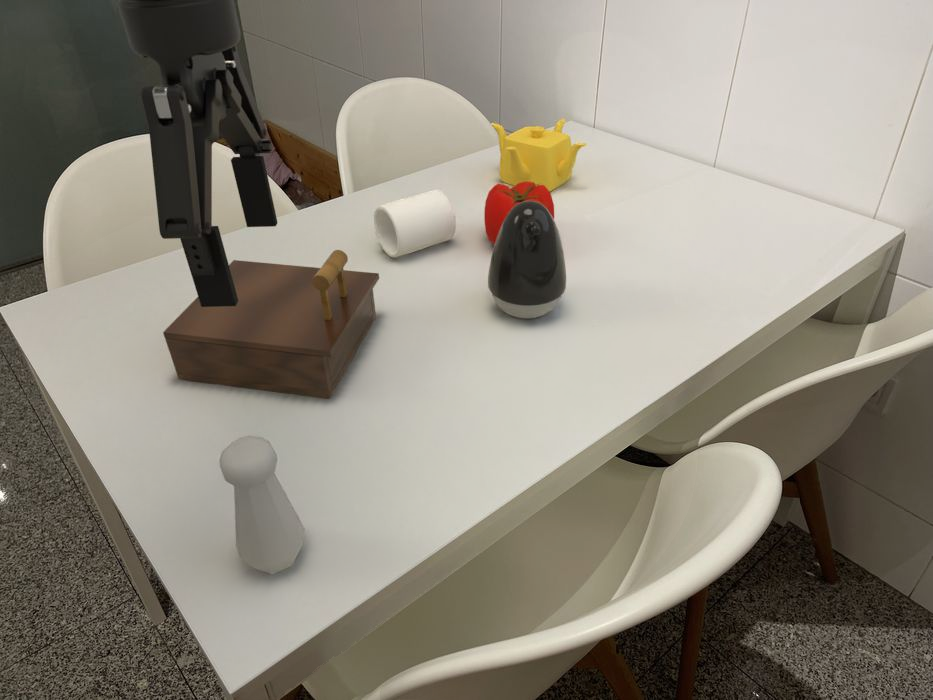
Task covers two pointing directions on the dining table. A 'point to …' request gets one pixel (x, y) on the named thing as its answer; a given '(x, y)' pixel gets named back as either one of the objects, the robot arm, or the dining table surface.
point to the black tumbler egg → (527, 262)
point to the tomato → (512, 203)
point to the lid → (281, 308)
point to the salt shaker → (261, 506)
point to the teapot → (536, 155)
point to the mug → (414, 223)
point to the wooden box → (271, 362)
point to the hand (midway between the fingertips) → (243, 261)
